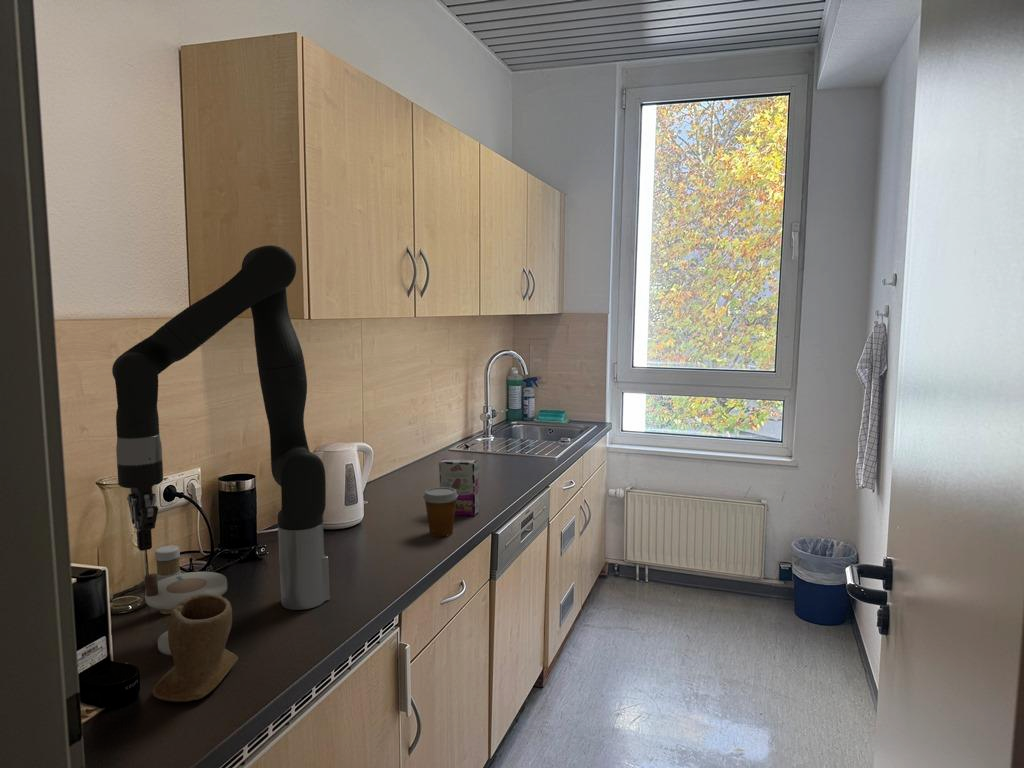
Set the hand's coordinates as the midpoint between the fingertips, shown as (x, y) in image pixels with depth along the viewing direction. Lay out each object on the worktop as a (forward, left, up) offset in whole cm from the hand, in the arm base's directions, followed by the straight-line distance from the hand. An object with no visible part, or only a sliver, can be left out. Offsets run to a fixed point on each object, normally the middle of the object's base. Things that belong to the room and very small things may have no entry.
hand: (144, 548), depth 134 cm
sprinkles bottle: (-6, -10, -18) cm, 22 cm away
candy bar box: (-92, -26, -18) cm, 98 cm away
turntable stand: (-5, +7, -18) cm, 20 cm away
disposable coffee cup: (-77, -14, -18) cm, 81 cm away
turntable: (-5, +6, -8) cm, 12 cm away
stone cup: (-3, +24, -18) cm, 30 cm away
